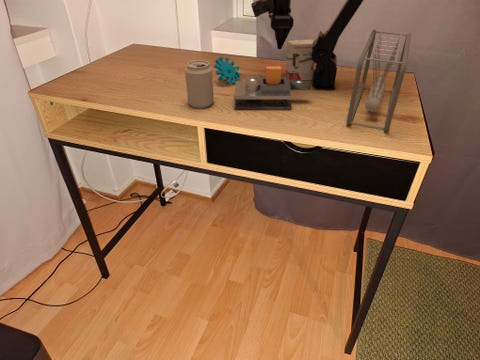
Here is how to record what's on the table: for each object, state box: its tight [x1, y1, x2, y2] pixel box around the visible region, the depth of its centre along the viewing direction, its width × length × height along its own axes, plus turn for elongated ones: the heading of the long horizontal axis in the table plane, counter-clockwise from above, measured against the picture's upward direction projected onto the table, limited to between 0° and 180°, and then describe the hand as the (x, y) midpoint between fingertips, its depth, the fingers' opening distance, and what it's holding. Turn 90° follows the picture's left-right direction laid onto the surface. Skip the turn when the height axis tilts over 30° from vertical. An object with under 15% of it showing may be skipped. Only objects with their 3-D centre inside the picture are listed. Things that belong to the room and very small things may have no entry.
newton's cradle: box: [346, 29, 412, 132], centre depth 97 cm, size 30×10×18 cm, turn 157°
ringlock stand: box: [234, 74, 312, 111], centre depth 103 cm, size 22×12×7 cm, turn 89°
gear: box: [213, 55, 241, 85], centre depth 117 cm, size 11×6×10 cm
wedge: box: [265, 65, 282, 84], centre depth 102 cm, size 4×2×9 cm, turn 89°
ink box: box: [284, 39, 316, 81], centre depth 116 cm, size 9×5×12 cm, turn 98°
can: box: [184, 59, 215, 109], centre depth 101 cm, size 8×8×12 cm
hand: (278, 44), depth 110 cm, fingers open, 9 cm apart
